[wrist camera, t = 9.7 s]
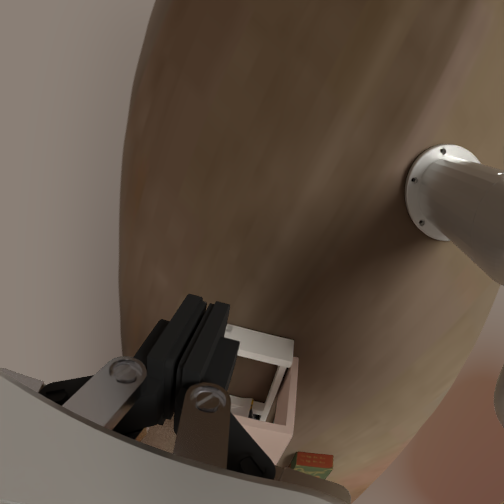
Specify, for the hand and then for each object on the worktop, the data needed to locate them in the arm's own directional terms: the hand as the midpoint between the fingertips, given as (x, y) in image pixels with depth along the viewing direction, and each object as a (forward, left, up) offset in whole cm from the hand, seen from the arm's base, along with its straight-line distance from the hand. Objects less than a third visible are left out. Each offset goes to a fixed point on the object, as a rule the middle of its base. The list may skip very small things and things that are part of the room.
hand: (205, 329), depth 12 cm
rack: (-3, +34, -29) cm, 45 cm away
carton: (-22, +58, -30) cm, 69 cm away
